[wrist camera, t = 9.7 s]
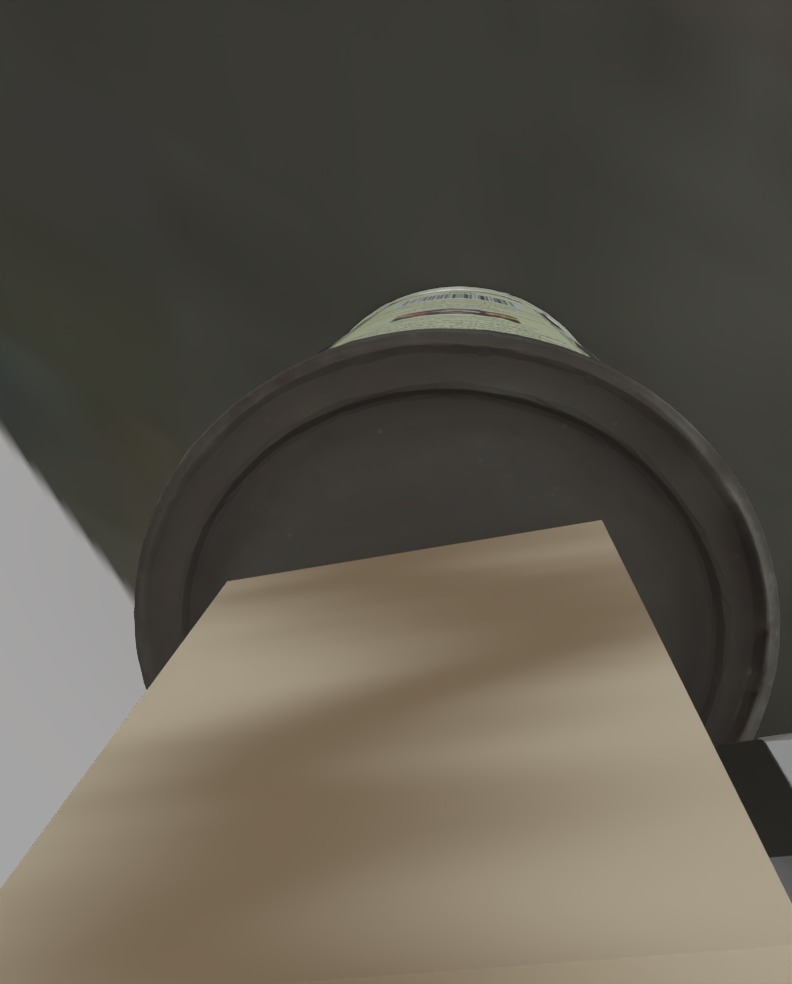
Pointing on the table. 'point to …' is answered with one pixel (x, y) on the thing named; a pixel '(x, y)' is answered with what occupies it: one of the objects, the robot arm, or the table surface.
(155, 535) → the coffee can
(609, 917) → the beech block
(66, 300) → the table surface
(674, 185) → the table surface
